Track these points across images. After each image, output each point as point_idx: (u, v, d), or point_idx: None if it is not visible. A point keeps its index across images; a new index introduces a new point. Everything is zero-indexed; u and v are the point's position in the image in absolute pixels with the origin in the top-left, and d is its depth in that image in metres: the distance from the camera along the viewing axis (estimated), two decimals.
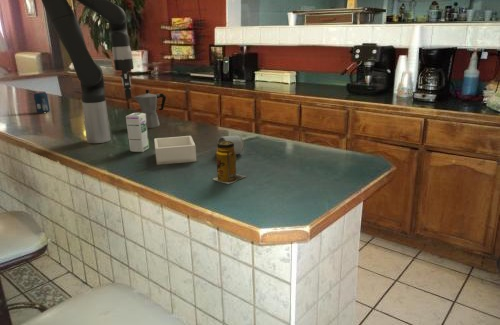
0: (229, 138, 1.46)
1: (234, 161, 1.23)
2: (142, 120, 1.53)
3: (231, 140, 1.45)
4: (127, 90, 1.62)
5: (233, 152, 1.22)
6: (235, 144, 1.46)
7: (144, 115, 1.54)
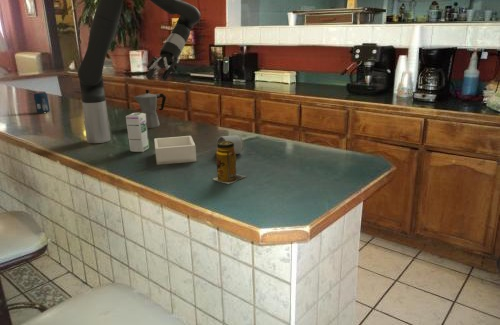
0: (228, 137, 1.46)
1: (234, 161, 1.23)
2: (142, 120, 1.53)
3: (231, 140, 1.46)
4: (168, 72, 1.57)
5: (233, 152, 1.22)
6: (235, 144, 1.46)
7: (144, 115, 1.54)
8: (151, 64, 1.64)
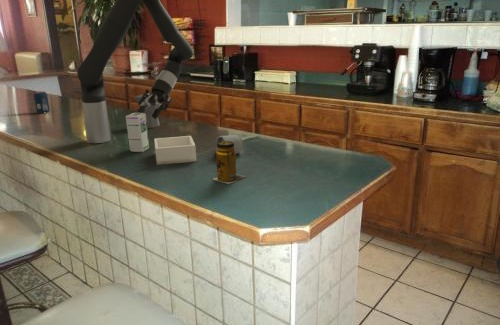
0: (228, 137, 1.46)
1: (234, 161, 1.23)
2: (142, 120, 1.53)
3: (230, 139, 1.46)
4: (159, 110, 1.56)
5: (233, 152, 1.22)
6: (234, 143, 1.46)
7: (144, 115, 1.54)
8: (142, 100, 1.63)
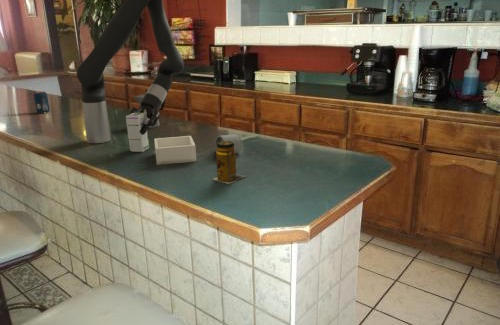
0: (227, 137, 1.47)
1: (234, 161, 1.23)
2: (142, 120, 1.53)
3: (229, 139, 1.47)
4: (147, 126, 1.53)
5: (233, 152, 1.22)
6: None
7: None
8: None
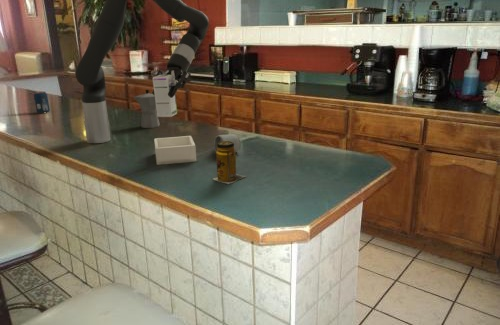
0: (226, 136, 1.48)
1: (234, 161, 1.23)
2: (170, 82, 1.41)
3: (228, 139, 1.47)
4: (176, 88, 1.40)
5: (233, 152, 1.22)
6: None
7: None
8: None
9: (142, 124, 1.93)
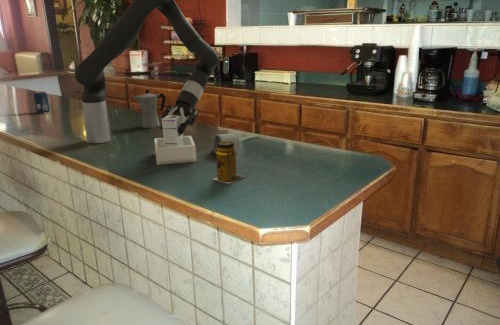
0: (224, 136, 1.49)
1: (234, 161, 1.23)
2: (179, 123, 1.43)
3: (226, 138, 1.48)
4: (185, 125, 1.42)
5: (233, 152, 1.22)
6: None
7: (180, 117, 1.44)
8: None
9: (142, 124, 1.93)
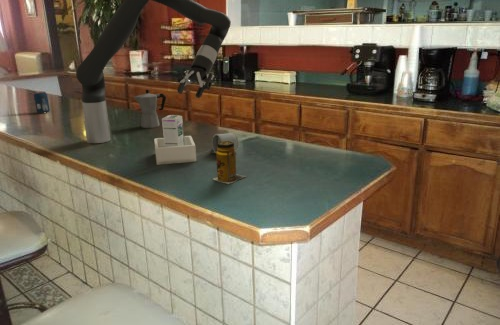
0: (223, 135, 1.49)
1: (234, 161, 1.23)
2: (179, 123, 1.43)
3: (225, 137, 1.49)
4: (203, 89, 1.51)
5: (233, 152, 1.22)
6: None
7: (180, 117, 1.44)
8: None
9: (142, 124, 1.93)
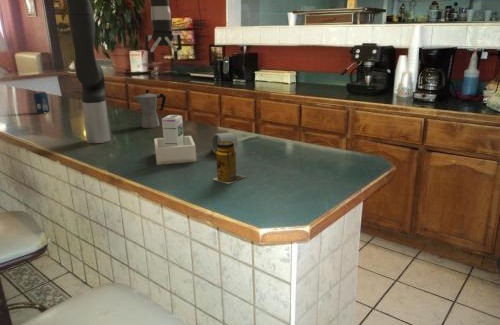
0: (222, 135, 1.50)
1: (234, 161, 1.23)
2: (179, 123, 1.43)
3: (225, 137, 1.49)
4: None
5: (233, 152, 1.22)
6: None
7: (180, 117, 1.44)
8: None
9: (142, 124, 1.93)
